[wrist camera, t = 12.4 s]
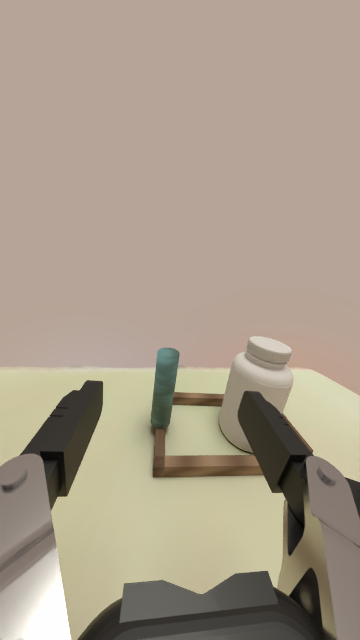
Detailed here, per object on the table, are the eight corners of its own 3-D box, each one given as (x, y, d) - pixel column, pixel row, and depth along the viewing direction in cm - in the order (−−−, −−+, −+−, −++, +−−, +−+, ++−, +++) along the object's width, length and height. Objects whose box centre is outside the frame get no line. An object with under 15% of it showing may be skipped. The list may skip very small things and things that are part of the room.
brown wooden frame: (145, 477, 19) (155, 382, 16) (152, 398, 31) (158, 334, 28) (302, 473, 22) (340, 391, 18) (254, 402, 34) (272, 343, 30)
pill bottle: (280, 438, 26) (314, 351, 22) (249, 466, 22) (284, 363, 18) (238, 403, 33) (258, 330, 28) (207, 420, 28) (226, 335, 24)
